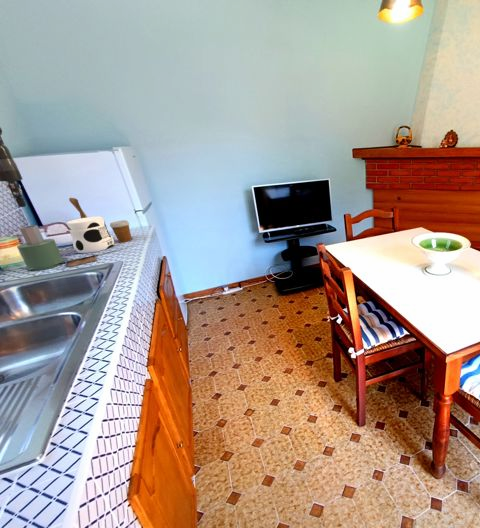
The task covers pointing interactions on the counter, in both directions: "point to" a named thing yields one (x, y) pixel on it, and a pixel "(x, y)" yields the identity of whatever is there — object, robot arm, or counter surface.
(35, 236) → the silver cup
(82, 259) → the coaster
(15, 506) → the counter surface
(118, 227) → the disposable coffee cup
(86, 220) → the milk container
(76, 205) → the wooden handled tool
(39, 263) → the green tapered cylinder
